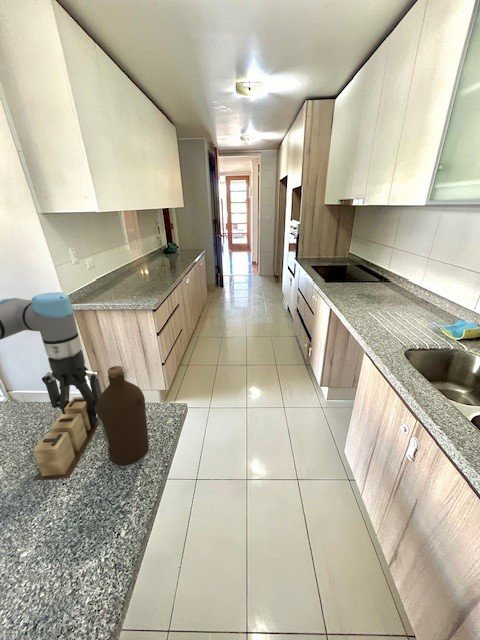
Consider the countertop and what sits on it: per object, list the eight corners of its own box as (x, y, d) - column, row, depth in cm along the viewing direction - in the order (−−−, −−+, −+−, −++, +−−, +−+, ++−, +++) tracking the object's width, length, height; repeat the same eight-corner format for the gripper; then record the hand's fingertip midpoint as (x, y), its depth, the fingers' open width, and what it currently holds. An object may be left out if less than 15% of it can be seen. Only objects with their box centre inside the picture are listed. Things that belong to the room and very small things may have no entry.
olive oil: (151, 432, 74) (140, 355, 65) (151, 463, 65) (138, 378, 56) (110, 440, 71) (93, 361, 62) (104, 474, 62) (83, 386, 53)
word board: (33, 482, 60) (32, 480, 59) (76, 420, 78) (75, 418, 78) (69, 479, 60) (69, 477, 60) (103, 418, 79) (103, 417, 79)
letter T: (42, 476, 60) (32, 449, 57) (54, 457, 65) (45, 431, 62) (64, 474, 61) (56, 447, 58) (75, 456, 66) (67, 430, 62)
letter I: (58, 452, 66) (49, 427, 63) (68, 437, 71) (60, 413, 68) (78, 451, 67) (71, 426, 64) (87, 436, 72) (80, 412, 69)
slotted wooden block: (70, 432, 72) (63, 407, 69) (79, 419, 77) (72, 395, 74) (89, 430, 73) (83, 406, 70) (96, 418, 77) (91, 395, 74)
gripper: (17, 361, 62) (42, 436, 70) (95, 359, 64) (111, 432, 72) (37, 347, 69) (58, 417, 77) (107, 345, 71) (120, 413, 79)
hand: (83, 424), depth 75 cm, fingers closed on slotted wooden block, 5 cm apart
